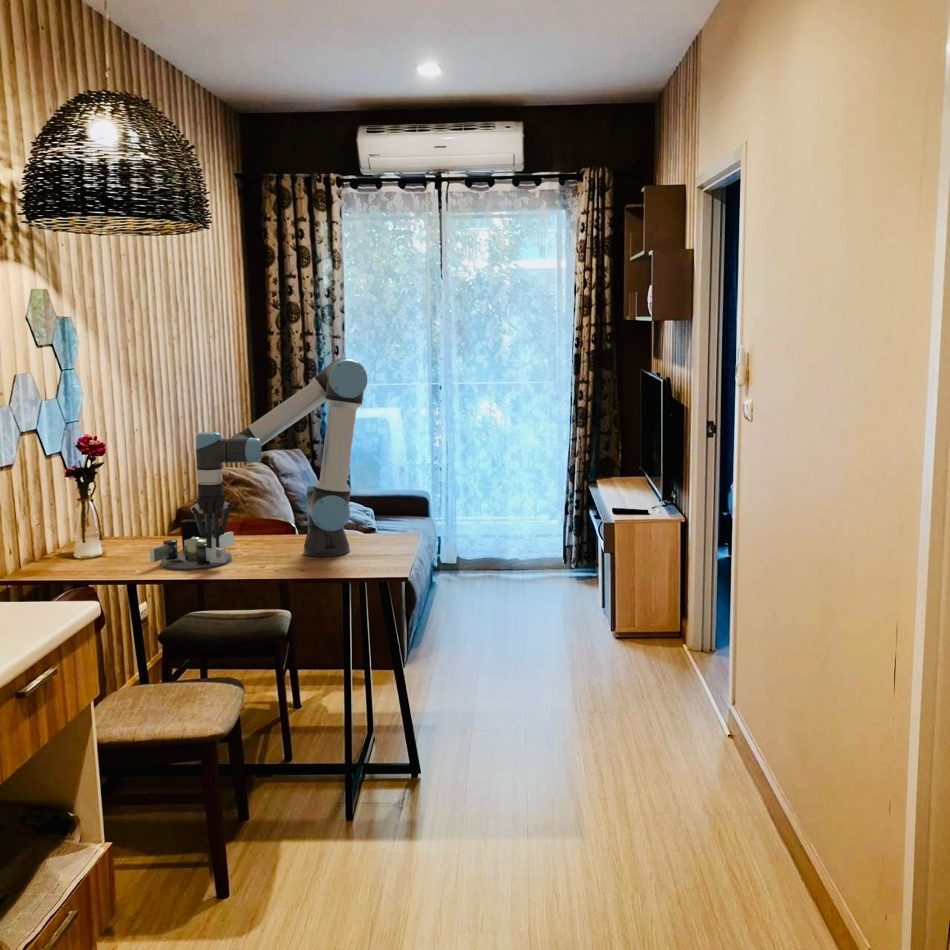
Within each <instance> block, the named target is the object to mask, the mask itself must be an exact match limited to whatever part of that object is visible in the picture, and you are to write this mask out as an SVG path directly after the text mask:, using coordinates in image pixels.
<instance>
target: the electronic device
mask: <svg viewBox="0 0 950 950" xmlns="http://www.w3.org/2000/svg"><path fill="white" fill-rule="evenodd" d="M201 520H202V523H203V526H204V530H205V518H203V519H202V518H201ZM180 528H181V531H180V532H181V542H182V543H181V545H182V550H183V551H185V548H184V540H186V539H191V538H192V537H199V538H206V537H203V536H201V535H200V533H199V530H198V527H197V524H196V521H195V518H193V519H184V520H182V521H181V523H180ZM211 529H212V534H213V524H212V518H211Z"/></svg>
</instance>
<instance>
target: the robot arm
mask: <svg viewBox="0 0 950 950" xmlns="http://www.w3.org/2000/svg"><path fill="white" fill-rule="evenodd" d="M367 385H368V374H367V371H366V368H365V367H364V366H363V365H362V363H360V362H359V361H357V360H356V359H353V358H343V357H342V358H337V359H335V360H332V362H330V363H329V364H328V365H327V366H326V367H325V368H324V369H322V371H320V372H319V373H318V374H316V375H315V376H313V377H312V381H311V382H310V383H309V384H307V385H306V386H305V387H303V388H302V389H299V390H298V391H297V392H296V393H295V394H293V395H291V396H290V397H288V398H287V399H285V400H284V401H282V402H281V403H280V404H278V405H277V406H275V407H274V408H273V409H271V410H270V411H269V412H267V413H266V414H264V415H263V416H261V417H260V418H259V419H257V420H255V421H254V422H253V423H251V424H250V425H248V426H247V427H246V428H244V429H243V430H241V431H239V432H237V433H236V434H234V435H233V436H231V437H230V438H222V435H221V432H217V431H213V432H212V431H206V432H205V431H204V432H199V433H197V434H196V436H195V459H196V477H197V479H196V480H197V481H196V482H197V483H198V484H197V500H196V503H195V504H194V505H193V506H190V507H189V510H190V512H191V513H192V514H193V517H194V519H195V521H196V524H197V527H198V530H199V533H200V535H201V536H203V537H206V545H207V548H210V558H212V559H216V547H219V537H220V536H221V535H224V533H226V528H227V523H228V518H229V515H230V514H229V513H230V511H231V509H232V508H233V504H232V503H229V502H227V501H226V498H225V497H224V484H223V480H224V479H223V464H229V463H233V464H234V463H235V464H236V463H237V464H238V463H249V464H251V463H258V462H261V460H262V446H263V445H265V444H267V443H268V442H270V441H271V440H273V438H275V437H276V436H278V435H279V434H281V433H282V432H284V431H285V430H286V429H288V428H290V427H291V426H292V425H294V424H295V423H297V422H298V421H299V420H301V419H302V418H304V417H305V416H307V415H309V414H310V413H311V412H312V411H314V410H315V409H317V408H319V407H320V406H321V405H322V404H324V403H325V402H326V403H327V404H328V412H327V420H326V426H325V427H326V428H325V436H324V442H323V443H324V444H323V450H322V451H323V452H322V457H321V458H322V459H321V467H320V474H319V475H320V476H319V480H318V481H317V482H315V483H314V484H309V485H307V486H306V491H305V492H306V493H305V496H306V507H307V508H306V509H307V510H306V513H307V515H306V516H307V533H306V536H305V540H304V545H303V554H304V555H306V556H309V557H314V558H315V557H316V558H317V557H318V558H322V557H323V558H325V557H328V558H329V557H335V556H336V557H337V556H338V557H339V556H342V555H345V554H347V553H349V552H350V548H351V547H350V543H349V541H348V537H347V535H346V532H345V528H344V526H345V525H346V524H347V522H348V521H349V519H350V515H351V511H350V510H351V509H350V496H351V488H350V487H349V485H348V475H349V469H350V463H351V453H352V446H353V439H354V438H353V437H354V431H355V423H356V416H357V410H358V408H360V407H361V406H362V405H363V400H364V391H366V388H367ZM222 508H223V509H222ZM221 509H222V511H221V512H222V513H221V518H220V517H219V516H220V510H221ZM200 510H202V512H203V516H204V519H205V530H204V526H203V523H202V520H201V519H202V516H201V514H200ZM219 518H220V519H219ZM211 519H212V524H213V537H212V529H211Z"/></svg>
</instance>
